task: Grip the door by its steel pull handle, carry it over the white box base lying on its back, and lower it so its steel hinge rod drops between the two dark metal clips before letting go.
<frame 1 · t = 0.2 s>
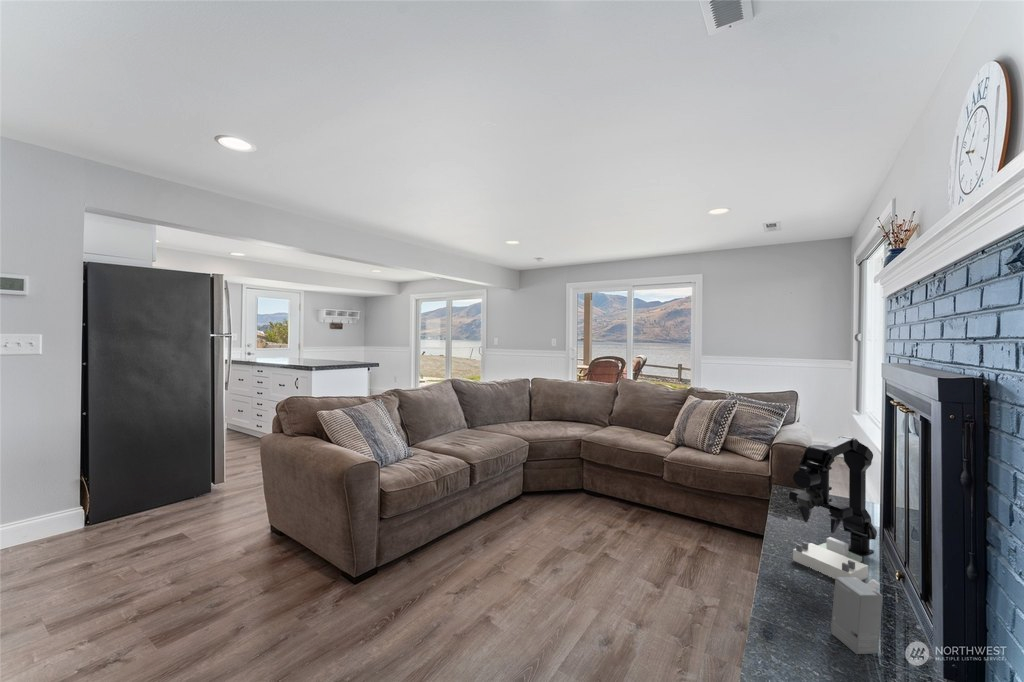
hand: (818, 527, 152), 14 cm above the hearth, tool pointing down, fingers open, 9 cm apart
white box base: (829, 568, 151), on the hearth
skincare box: (855, 644, 114), on the hearth
hook: (863, 613, 127), on the hearth
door: (837, 557, 160), on the hearth
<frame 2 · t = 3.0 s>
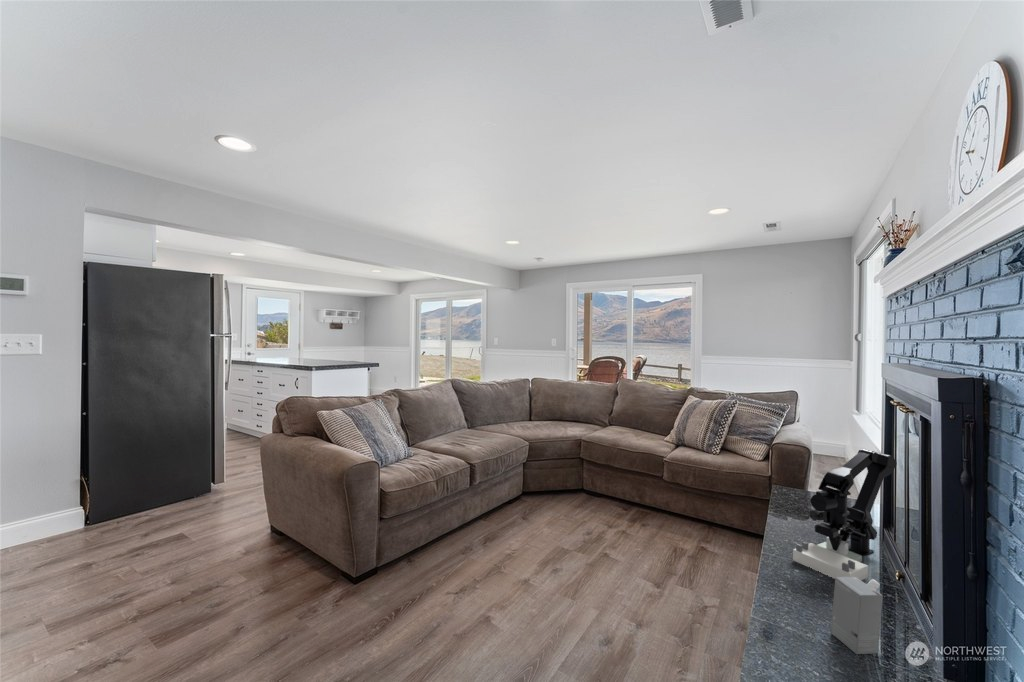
hand: (837, 549, 160), 2 cm above the hearth, tool pointing down, fingers closed on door, 2 cm apart
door: (837, 556, 160), on the hearth, touching gripper
everything else where it was.
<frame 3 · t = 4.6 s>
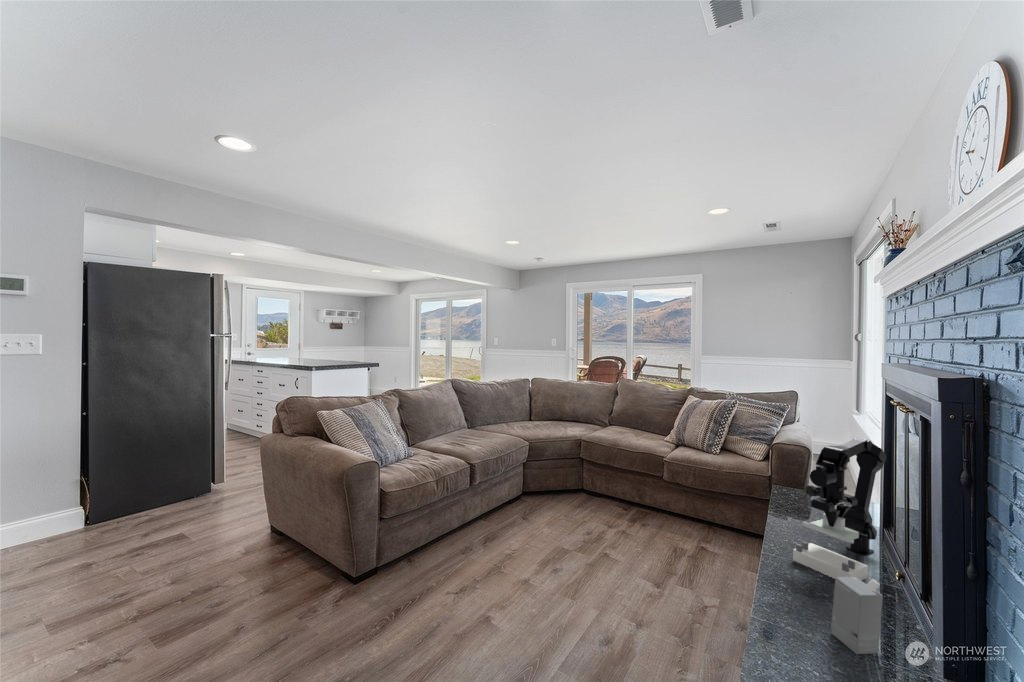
hand: (833, 525, 156), 13 cm above the hearth, tool pointing down, fingers closed on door, 2 cm apart
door: (833, 532, 156), point 10 cm above the hearth, touching gripper
everything else where it was.
when the fingers open (8 cm above the hearth, at t = 6.3 s): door drops 1 cm, resting on white box base.
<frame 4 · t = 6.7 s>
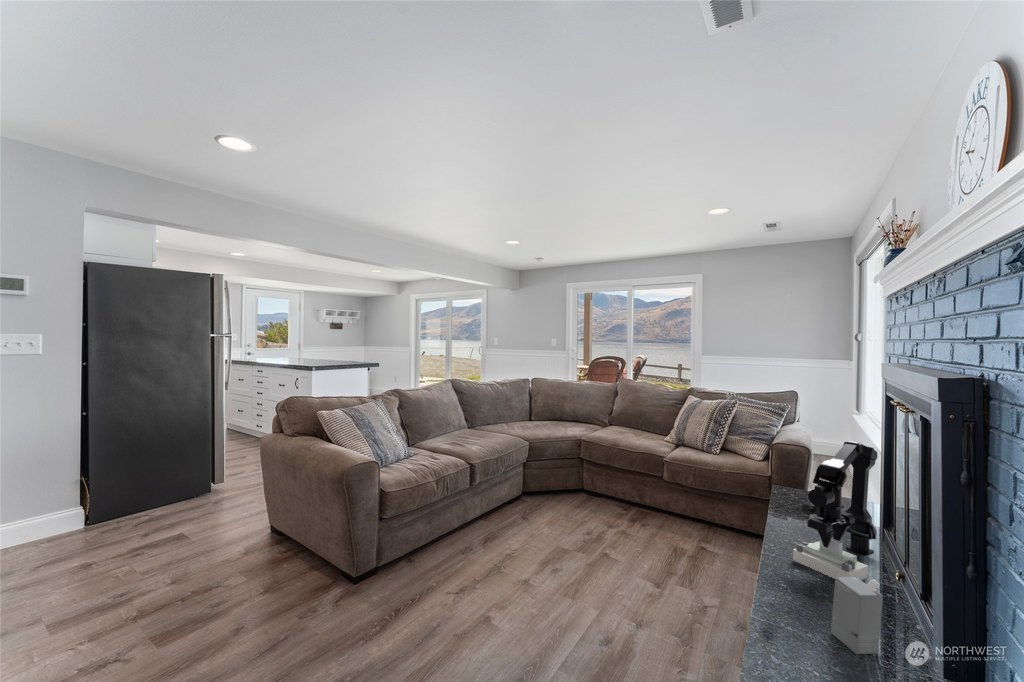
hand: (830, 545, 151), 8 cm above the hearth, tool pointing down, fingers open, 6 cm apart
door: (830, 556, 151), point 4 cm above the hearth, touching white box base
everything else where it was.
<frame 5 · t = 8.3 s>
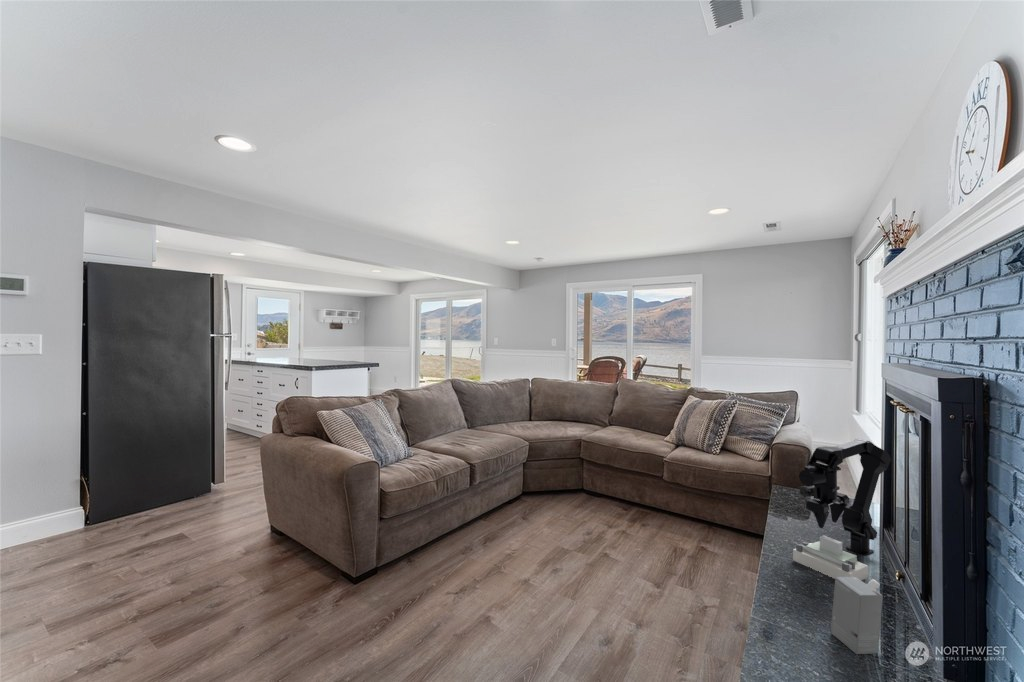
hand: (827, 524, 159), 12 cm above the hearth, tool pointing down, fingers open, 9 cm apart
nothing on the hearth moved.
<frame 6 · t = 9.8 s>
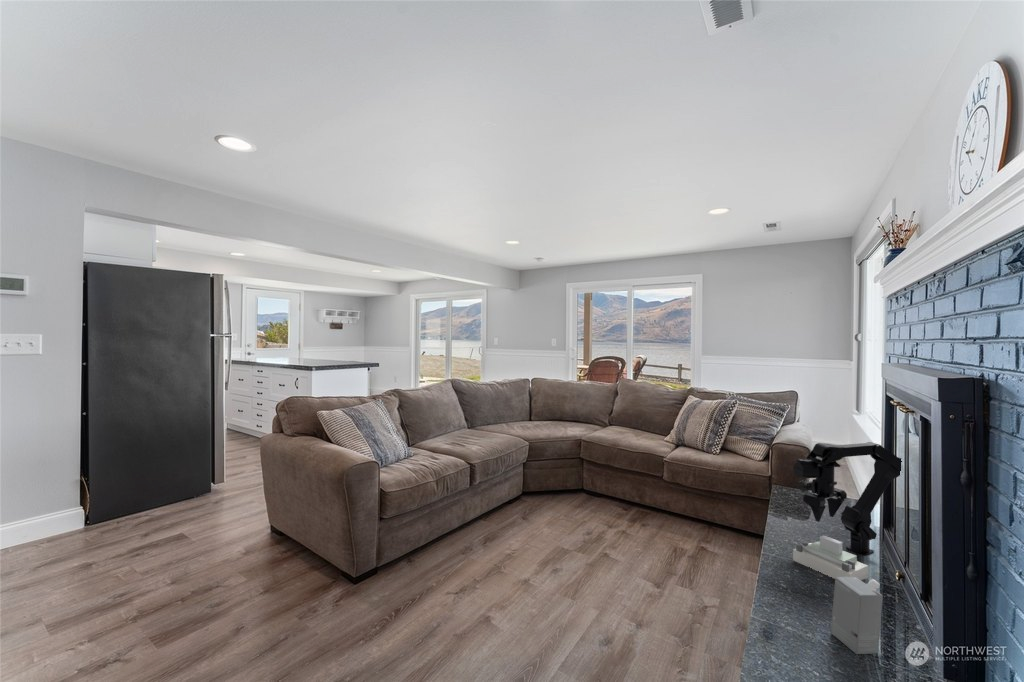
hand: (824, 518, 164), 12 cm above the hearth, tool pointing down, fingers open, 9 cm apart
nothing on the hearth moved.
at the end: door 0.0 cm off-centre on the white box base, point 4.0 cm above the white box base's base; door tilted 0°; the gripper is holding nothing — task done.
